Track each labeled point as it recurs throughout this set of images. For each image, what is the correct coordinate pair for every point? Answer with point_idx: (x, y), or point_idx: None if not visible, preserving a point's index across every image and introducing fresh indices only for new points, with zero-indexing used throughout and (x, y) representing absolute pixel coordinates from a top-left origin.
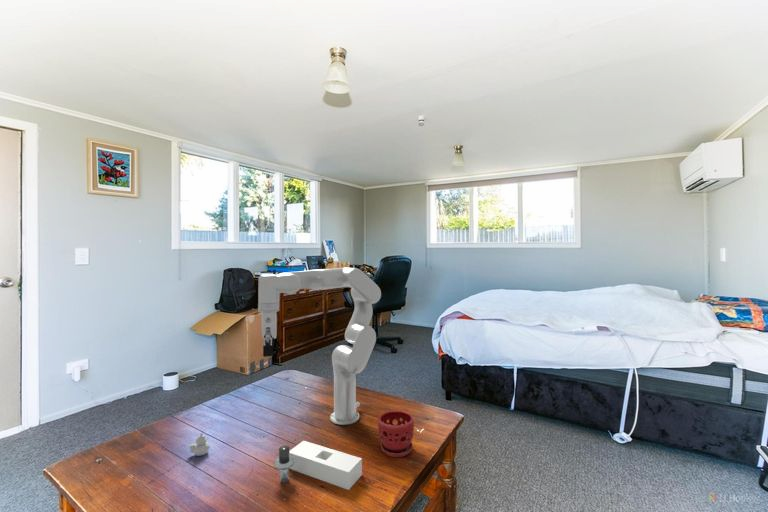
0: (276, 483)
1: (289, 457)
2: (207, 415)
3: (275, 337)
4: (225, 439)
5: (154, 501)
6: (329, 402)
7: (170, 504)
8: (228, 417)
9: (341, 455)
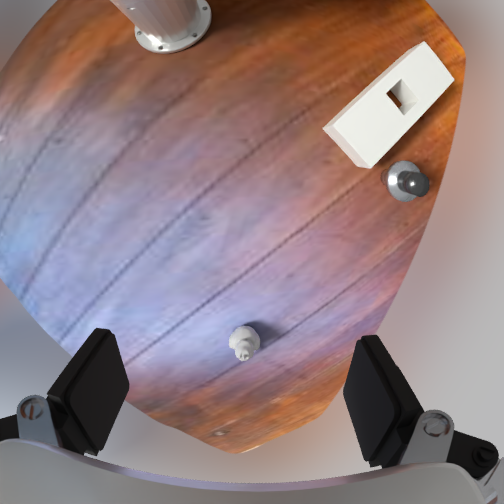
0: None
1: (398, 169)
2: None
3: (460, 466)
4: (197, 299)
5: None
6: (77, 65)
7: None
8: (103, 301)
9: (410, 67)
